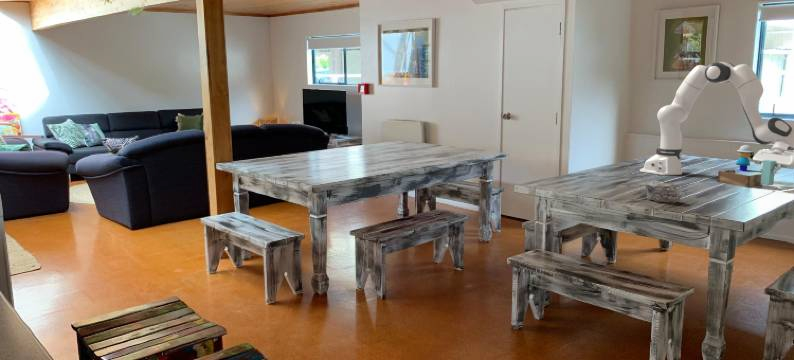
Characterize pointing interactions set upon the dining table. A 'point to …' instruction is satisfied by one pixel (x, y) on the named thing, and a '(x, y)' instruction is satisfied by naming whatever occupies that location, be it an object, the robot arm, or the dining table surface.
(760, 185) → the coaster
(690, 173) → the dining table surface
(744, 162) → the toy
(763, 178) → the block
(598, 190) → the dining table surface
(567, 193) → the dining table surface
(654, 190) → the rock
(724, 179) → the crate
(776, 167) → the robot arm
